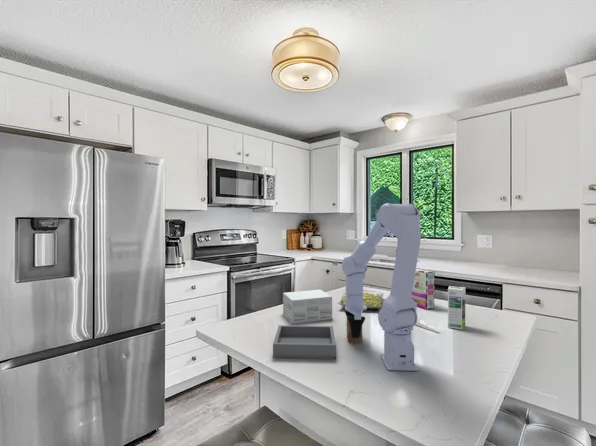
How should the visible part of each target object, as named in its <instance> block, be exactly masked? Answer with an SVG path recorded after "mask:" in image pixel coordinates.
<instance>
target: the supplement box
mask: <svg viewBox="0 0 596 446" xmlns="http://www.w3.org/2000/svg"><path fill="white" fill-rule="evenodd" d="M282 314H283V316H284V317H285V318H286V319H287V320H288V321H289V322H290V323H291V324H292V325H293V324H300V323H301V324H302V323H309V322H318V321H329V320H333V296H332V295H331V294H329V293H327V292H325V291H324V290H323V289H320V288H319V289H312V290H300V291H289V292H288V291H287V292H283V293H282Z"/></svg>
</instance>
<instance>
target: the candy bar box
mask: <svg viewBox="0 0 596 446" xmlns="http://www.w3.org/2000/svg"><path fill="white" fill-rule="evenodd" d="M435 276H436V275H435V271H433V270H428V269H422V268H417V267H416V271H415V277H414V283H413V289H412V295H411V299H412V300H413V301H414V302H415V303H416V304H417V308H420V309H422V310H423V309H424V310H433V309H435V279H436V277H435Z"/></svg>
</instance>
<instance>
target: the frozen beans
mask: <svg viewBox="0 0 596 446" xmlns="http://www.w3.org/2000/svg"><path fill="white" fill-rule="evenodd" d="M383 297H384V293H383V292H380V291H377V290H375V291H374V290H364V289H363V306H366V307H367V309H376V310H381V308H382V304H383V302H384V300H383ZM337 305H340V306H342V307H345V306H346V289H343V290H342V296H341V299H340V301H338V303H337Z"/></svg>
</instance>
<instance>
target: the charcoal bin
mask: <svg viewBox="0 0 596 446" xmlns="http://www.w3.org/2000/svg"><path fill="white" fill-rule="evenodd" d="M333 327H334V326H333V325H285V324H284V325H281V324H280V325H278V327H277V331H276V334H275V337H274V340H273V343H272V358H273V359H306V360H308V359H311V360H313V359H314V360H315V359H316V360H318V359H319V360H336V359H337V344H336V343H337V342H336V337H335V332H334V331H335V330H334V328H333Z"/></svg>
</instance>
